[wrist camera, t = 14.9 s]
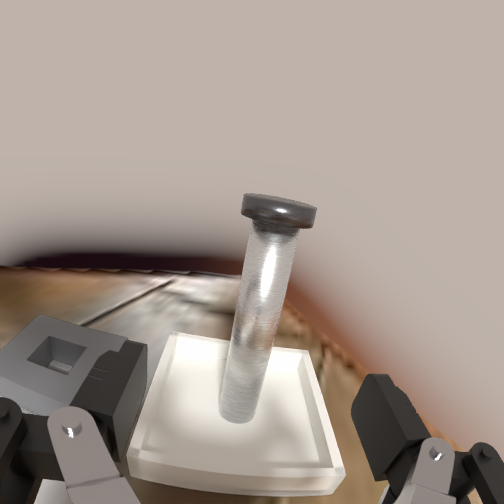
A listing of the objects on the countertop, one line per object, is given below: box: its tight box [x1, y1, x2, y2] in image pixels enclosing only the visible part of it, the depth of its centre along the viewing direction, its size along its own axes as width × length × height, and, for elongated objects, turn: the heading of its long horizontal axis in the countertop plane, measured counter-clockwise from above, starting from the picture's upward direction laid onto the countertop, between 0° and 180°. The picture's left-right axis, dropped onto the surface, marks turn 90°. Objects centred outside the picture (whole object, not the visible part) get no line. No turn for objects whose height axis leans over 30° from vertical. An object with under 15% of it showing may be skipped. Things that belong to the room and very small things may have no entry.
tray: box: [126, 331, 346, 496], centre depth 25 cm, size 15×17×3 cm
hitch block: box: [0, 314, 128, 416], centre depth 24 cm, size 11×11×3 cm
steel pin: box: [219, 193, 317, 424], centre depth 23 cm, size 5×5×18 cm
